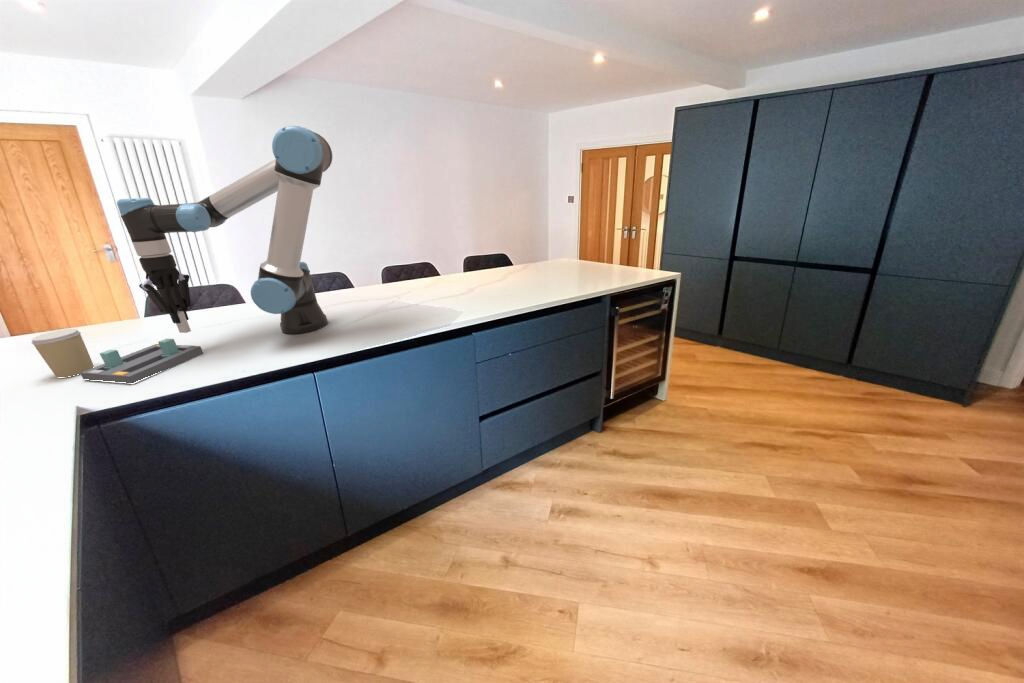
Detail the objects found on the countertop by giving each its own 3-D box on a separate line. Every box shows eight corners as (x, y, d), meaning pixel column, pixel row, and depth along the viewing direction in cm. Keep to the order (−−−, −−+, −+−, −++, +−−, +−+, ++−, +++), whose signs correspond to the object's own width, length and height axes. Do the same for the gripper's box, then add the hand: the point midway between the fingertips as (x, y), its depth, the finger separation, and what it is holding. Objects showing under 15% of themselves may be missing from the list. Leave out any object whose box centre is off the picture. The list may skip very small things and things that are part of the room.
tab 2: (183, 354, 118) (176, 337, 116) (170, 359, 114) (162, 343, 112) (175, 353, 119) (168, 337, 117) (162, 359, 115) (154, 342, 113)
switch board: (203, 353, 121) (200, 345, 120) (133, 384, 103) (129, 375, 102) (159, 351, 125) (155, 343, 124) (84, 380, 107) (79, 372, 106)
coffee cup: (74, 366, 117) (53, 329, 112) (106, 363, 117) (87, 327, 113) (42, 381, 108) (18, 342, 104) (77, 378, 109) (56, 339, 104)
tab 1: (128, 365, 112) (120, 348, 110) (112, 372, 108) (104, 354, 106) (120, 365, 113) (112, 348, 111) (105, 371, 109) (95, 354, 107)
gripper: (168, 251, 118) (195, 324, 127) (120, 259, 106) (154, 339, 115) (187, 251, 116) (214, 325, 125) (140, 259, 104) (173, 340, 113)
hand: (185, 331), depth 120 cm, fingers closed
